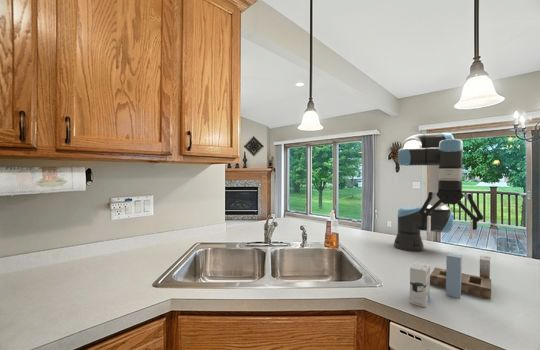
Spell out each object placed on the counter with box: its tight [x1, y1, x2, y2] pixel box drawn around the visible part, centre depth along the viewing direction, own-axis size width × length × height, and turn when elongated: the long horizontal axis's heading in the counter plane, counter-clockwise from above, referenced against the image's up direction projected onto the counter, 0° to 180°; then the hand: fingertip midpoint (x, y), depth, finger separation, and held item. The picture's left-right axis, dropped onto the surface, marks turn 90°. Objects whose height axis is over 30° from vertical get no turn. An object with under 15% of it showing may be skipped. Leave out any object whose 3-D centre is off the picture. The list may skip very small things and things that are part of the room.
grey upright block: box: [479, 254, 491, 279], centre depth 103 cm, size 3×6×10 cm, turn 139°
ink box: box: [409, 261, 431, 308], centre depth 88 cm, size 8×5×12 cm, turn 141°
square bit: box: [445, 252, 463, 299], centre depth 93 cm, size 4×4×14 cm
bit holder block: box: [430, 267, 492, 300], centre depth 100 cm, size 18×11×4 cm, turn 49°
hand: (449, 235), depth 101 cm, fingers open, 13 cm apart
